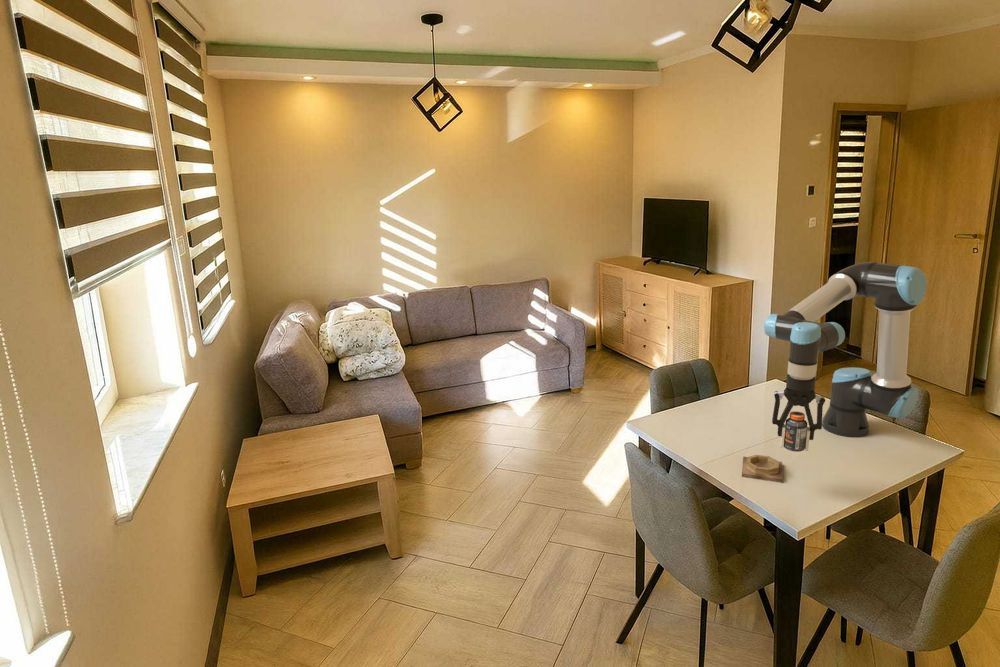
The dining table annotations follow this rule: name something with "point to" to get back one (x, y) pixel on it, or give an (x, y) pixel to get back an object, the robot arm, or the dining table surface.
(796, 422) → the pill bottle
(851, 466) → the dining table surface
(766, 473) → the socket board
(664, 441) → the dining table surface
